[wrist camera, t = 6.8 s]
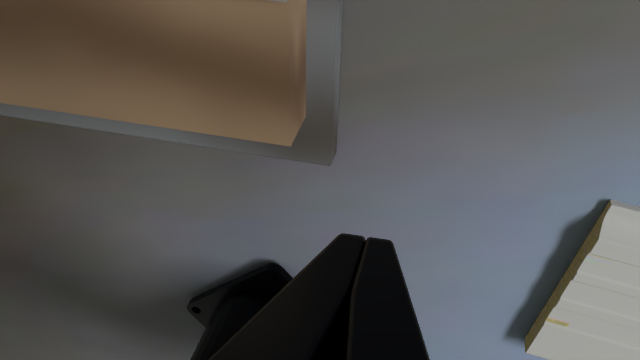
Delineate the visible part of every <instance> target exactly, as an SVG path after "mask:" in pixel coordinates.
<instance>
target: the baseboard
mask: <svg viewBox="0 0 640 360" xmlns="http://www.w3.org/2000/svg"><path fill="white" fill-rule="evenodd" d="M525 353H528V354H531V355H535V356H538V357H542V358H545V359H548V360H640V207H638V206H634V205H630V204H626V203H622V202H619V201H615V200H611V199H610V201H609V202H608V204H607V206H606V207H605V209H604V211H603V212H602V214H601V215H600V217H599V219H598V220H597V222H596V224H595V225H594V227H593V228H592V230H591V232H590V233H589V235H588V237H587V238H586V240H585V241H584V243H583V245H582V246H581V248H580V249H579V251H578V253H577V254H576V256H575V258H574V259H573V261H572V262H571V264H570V266H569V267H568V269H567V271H566V272H565V274H564V275H563V277H562V279H561V280H560V282H559V284H558V285H557V287H556V288H555V290H554V292H553V293H552V295H551V297H550V298H549V300H548V301H547V303H546V305H545V306H544V308H543V310H542V311H541V313H540V314H539V316H538V318H537V319H536V321H535V323H534V324H533V326H532V327H531V329H530V331H529V332H528V334H527V336H526V337H525Z"/></svg>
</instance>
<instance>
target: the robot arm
mask: <svg viewBox="0 0 640 360" xmlns="http://www.w3.org/2000/svg"><path fill="white" fill-rule="evenodd" d="M272 273H273V274H272ZM274 274H275V275H274ZM187 309H188V311H189V312H190V313H191V314H192V315H193V316H194V317H195V318H196V319H197V320H198V321H199V322H201V323H202V324H203V325H204V326H205V327H206V329H205V331H204V333H203V335H202V337H201V339H200V341H199V343H198V345H197V347H196V349H195V351H194V353H193V355H192V357H191V360H430V359H429V356H428V352H427V349H426V346H425V343H424V340H423V336H422V333H421V330H420V327H419V324H418V321H417V317H416V314H415V311H414V308H413V305H412V302H411V298H410V295H409V292H408V289H407V286H406V283H405V279H404V276H403V273H402V270H401V267H400V264H399V260H398V257H397V254H396V251H395V248H394V245H393V243H392V241H390V240H386V239H379V238H372V237H369V238H367V240H365V238H364V237H363V236H358V235H351V234H345V233H343V234H340V235H338V236H337V237H336V238H335V239H334V240H333V241H332V242H331V243H330V244H329V245H328V246H327V247H326V248H325V249H324V250H322V251H321V252H320V253H319V254H318V255H317V256H316V257H315V258H314V259H313V260H312V261H311V262H310V263H309V264H308V265H307V266H306V267H305V268H304V269H303V270H302V271H301V272H300V273H298V274H297V275H296V276H295V277H294V278H292V277H291V276H290V275H289V274H288V273H287V272H286V271H285V270H284V269H283V268H282V267H281V266H280V265H277V264H268V265H266V266H263V267H261V268H259V269H257V270H254V271H252V272H250V273H248V274H246V275H243V276H241V277H239V278H237V279H234V280H232V281H230V282H228V283H225V284H223V285H221V286H219V287H217V288H214V289H212V290H210V291H208V292H205V293H203V294H201V295H199V296H196V297H194V298H192V299H191V300H190V302H189V304H188V306H187Z"/></svg>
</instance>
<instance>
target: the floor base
mask: <svg viewBox="0 0 640 360" xmlns="http://www.w3.org/2000/svg"><path fill="white" fill-rule="evenodd" d="M342 18H343V0H0V115H3V116H9V117H16V118H22V119H29V120H35V121H42V122H48V123H55V124H61V125H68V126H74V127H81V128H87V129H94V130H100V131H107V132H113V133H120V134H126V135H133V136H139V137H145V138H152V139H158V140H165V141H171V142H178V143H184V144H191V145H197V146H204V147H210V148H217V149H223V150H230V151H236V152H243V153H249V154H256V155H262V156H269V157H275V158H282V159H288V160H295V161H301V162H307V163H314V164H320V165H327V166H331V164H332V161H333V159H334V156H335V154H336V145H337V124H338V103H339V82H340V60H341V39H342Z"/></svg>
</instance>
